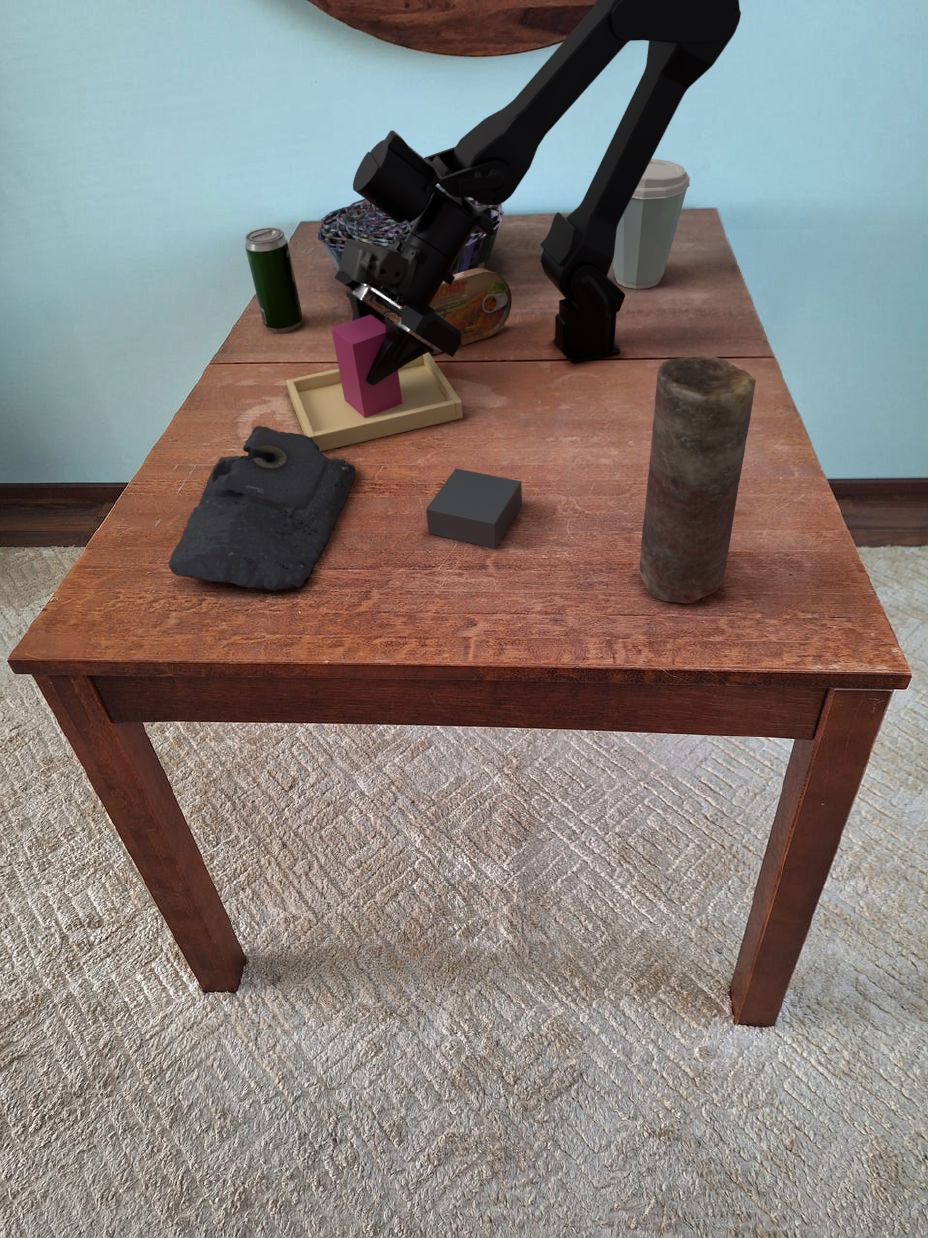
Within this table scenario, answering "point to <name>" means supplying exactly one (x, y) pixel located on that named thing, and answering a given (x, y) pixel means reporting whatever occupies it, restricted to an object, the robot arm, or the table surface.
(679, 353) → the table surface
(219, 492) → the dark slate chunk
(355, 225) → the decorative bowl
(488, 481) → the base block
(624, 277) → the disposable coffee cup
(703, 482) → the stone cylinder vase
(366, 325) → the mulberry block
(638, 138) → the robot arm
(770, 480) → the table surface
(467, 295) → the tin
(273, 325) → the beer can
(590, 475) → the table surface
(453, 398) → the tray
